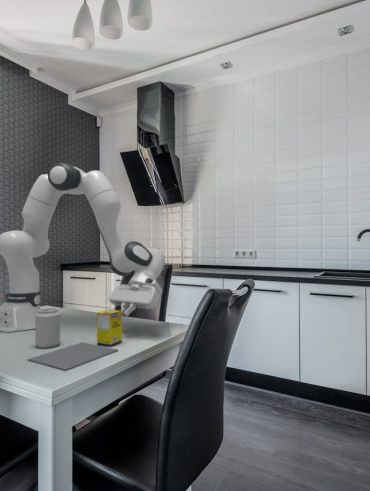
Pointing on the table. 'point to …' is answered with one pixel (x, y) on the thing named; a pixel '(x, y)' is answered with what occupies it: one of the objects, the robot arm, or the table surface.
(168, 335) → the table surface
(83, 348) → the rubber mat
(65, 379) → the table surface
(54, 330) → the can
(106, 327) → the supplement box
